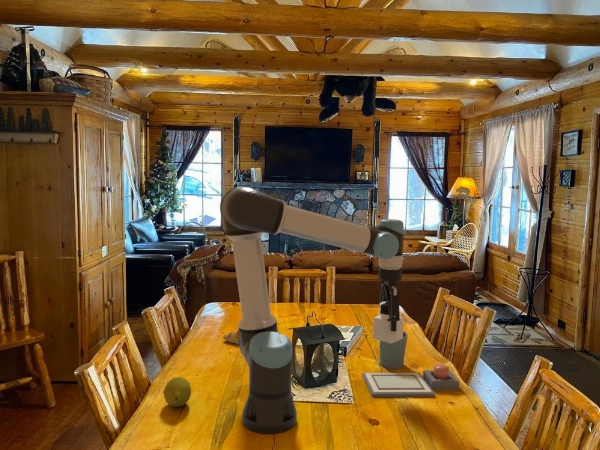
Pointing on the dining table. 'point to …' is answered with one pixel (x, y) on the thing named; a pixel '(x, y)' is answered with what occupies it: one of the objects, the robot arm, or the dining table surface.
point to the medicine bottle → (385, 325)
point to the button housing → (441, 381)
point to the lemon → (177, 391)
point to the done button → (441, 371)
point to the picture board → (397, 385)
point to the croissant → (232, 337)
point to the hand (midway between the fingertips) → (388, 335)
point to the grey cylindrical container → (393, 353)
